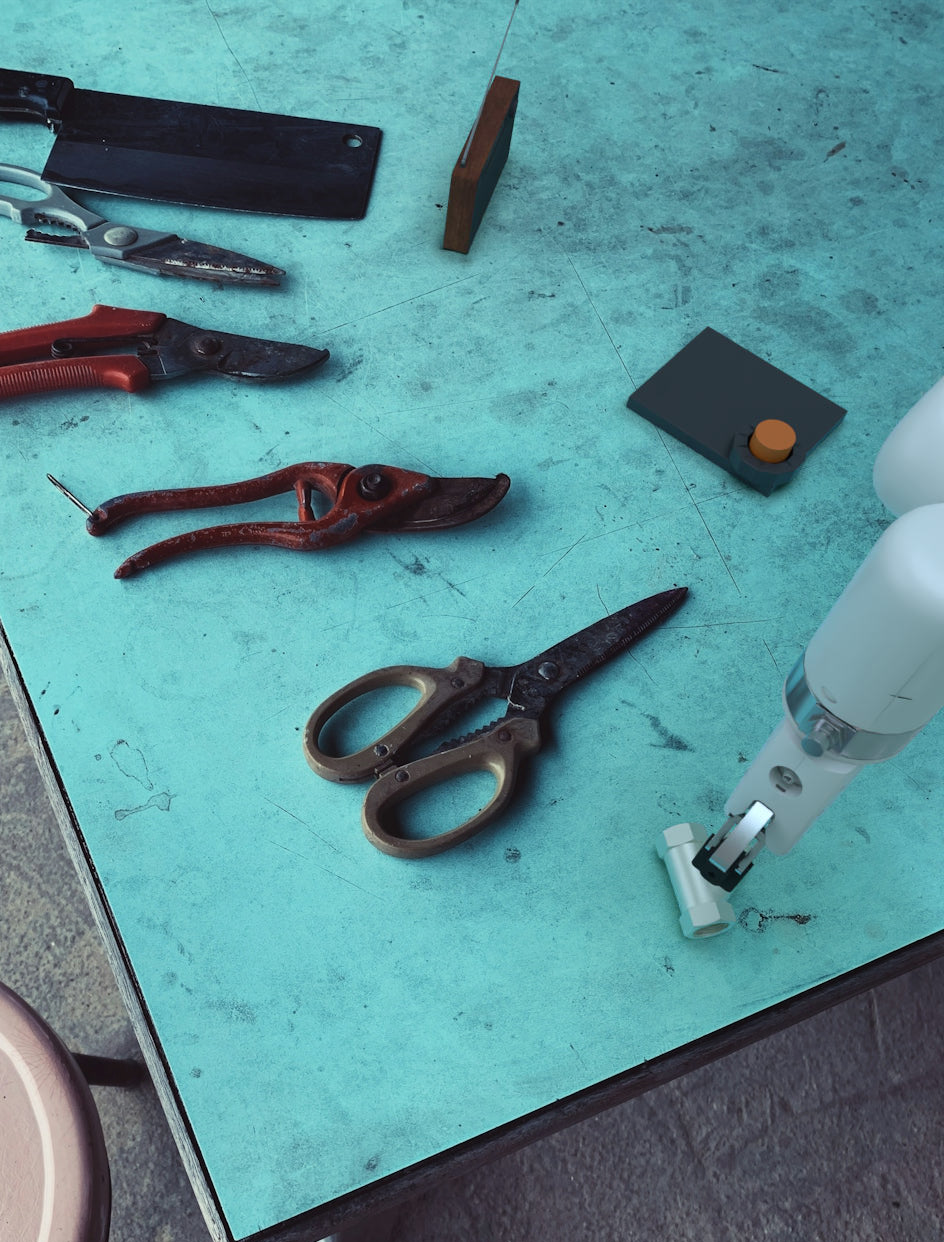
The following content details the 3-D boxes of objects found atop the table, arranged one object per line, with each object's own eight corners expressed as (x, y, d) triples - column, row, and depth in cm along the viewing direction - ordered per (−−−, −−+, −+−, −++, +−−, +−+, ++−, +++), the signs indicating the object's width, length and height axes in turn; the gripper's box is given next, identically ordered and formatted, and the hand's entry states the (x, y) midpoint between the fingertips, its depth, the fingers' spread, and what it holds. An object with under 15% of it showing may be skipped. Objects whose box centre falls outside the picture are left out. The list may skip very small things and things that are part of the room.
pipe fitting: (730, 836, 94) (649, 845, 92) (750, 813, 90) (666, 823, 89) (763, 931, 90) (680, 942, 89) (785, 911, 87) (699, 923, 85)
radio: (470, 256, 122) (491, 115, 109) (442, 249, 122) (459, 107, 109) (516, 146, 130) (541, 2, 117) (489, 140, 130) (511, -5, 117)
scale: (849, 425, 113) (862, 402, 110) (769, 507, 108) (780, 485, 106) (703, 336, 118) (712, 312, 115) (620, 411, 113) (628, 387, 110)
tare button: (796, 448, 108) (803, 434, 106) (774, 470, 107) (781, 456, 105) (763, 427, 109) (769, 413, 107) (741, 448, 108) (747, 434, 106)
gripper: (834, 838, 62) (726, 951, 77) (993, 639, 68) (865, 781, 83) (714, 750, 64) (633, 878, 79) (880, 566, 70) (775, 717, 86)
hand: (752, 828), depth 81 cm, fingers open, 9 cm apart
